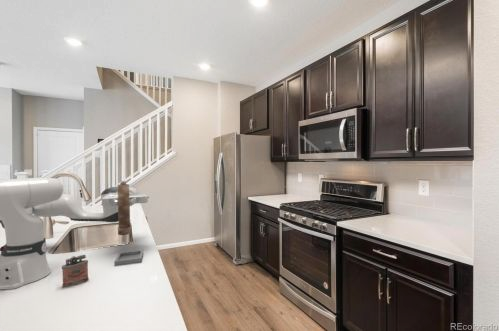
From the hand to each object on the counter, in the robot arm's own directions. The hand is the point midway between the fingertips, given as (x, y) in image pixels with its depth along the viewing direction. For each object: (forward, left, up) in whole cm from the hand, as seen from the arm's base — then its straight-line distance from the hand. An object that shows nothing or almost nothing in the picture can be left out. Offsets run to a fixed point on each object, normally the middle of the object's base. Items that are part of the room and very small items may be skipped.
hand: (123, 202), depth 116 cm
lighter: (-13, -21, -26) cm, 36 cm away
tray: (+3, -4, -26) cm, 26 cm away
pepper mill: (0, +1, -15) cm, 15 cm away
